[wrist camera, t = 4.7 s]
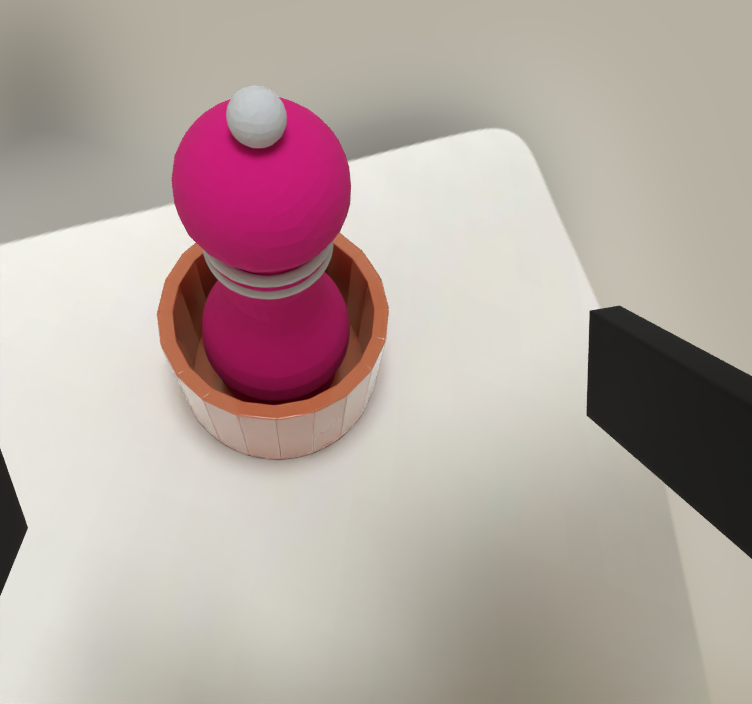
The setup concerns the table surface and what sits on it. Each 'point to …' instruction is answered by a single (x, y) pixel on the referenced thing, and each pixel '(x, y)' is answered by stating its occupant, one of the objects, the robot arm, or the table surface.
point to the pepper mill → (267, 243)
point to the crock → (290, 420)
